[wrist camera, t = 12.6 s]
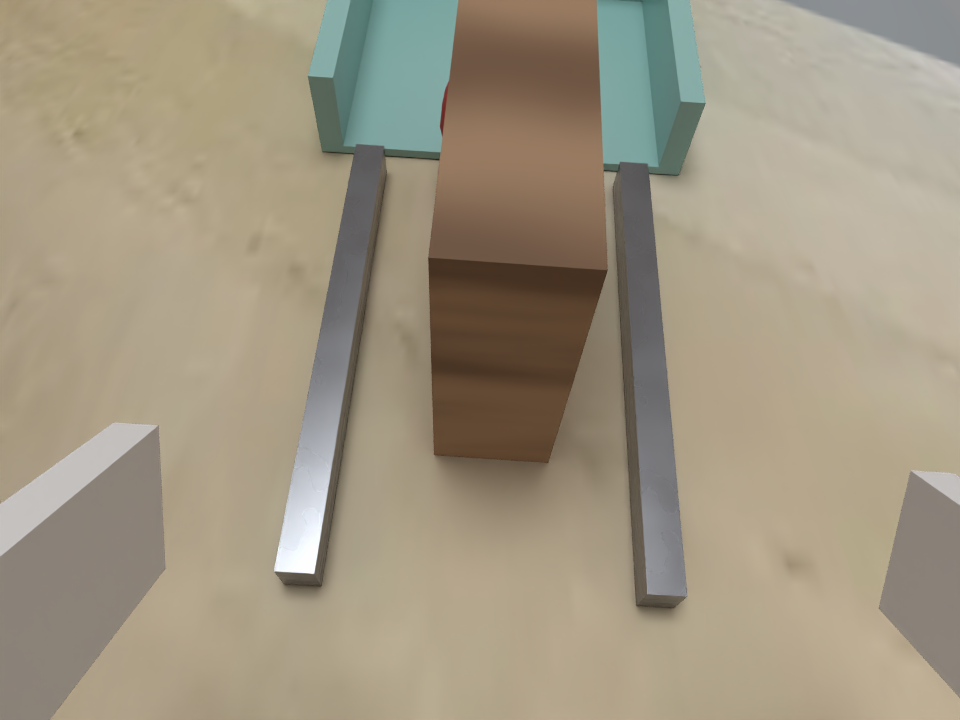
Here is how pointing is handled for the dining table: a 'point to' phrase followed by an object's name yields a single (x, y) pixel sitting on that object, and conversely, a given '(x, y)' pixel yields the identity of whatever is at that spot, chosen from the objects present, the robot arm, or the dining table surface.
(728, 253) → the dining table surface
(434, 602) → the dining table surface
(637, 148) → the tray
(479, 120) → the pusher block
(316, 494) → the slot rails
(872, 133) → the dining table surface
